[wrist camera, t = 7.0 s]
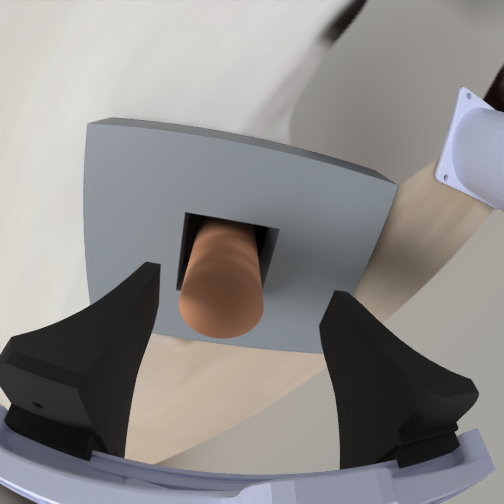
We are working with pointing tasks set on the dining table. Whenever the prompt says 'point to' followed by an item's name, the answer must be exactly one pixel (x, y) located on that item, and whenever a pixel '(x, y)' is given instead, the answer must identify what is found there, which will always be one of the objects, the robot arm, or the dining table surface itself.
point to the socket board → (232, 208)
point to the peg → (222, 280)
